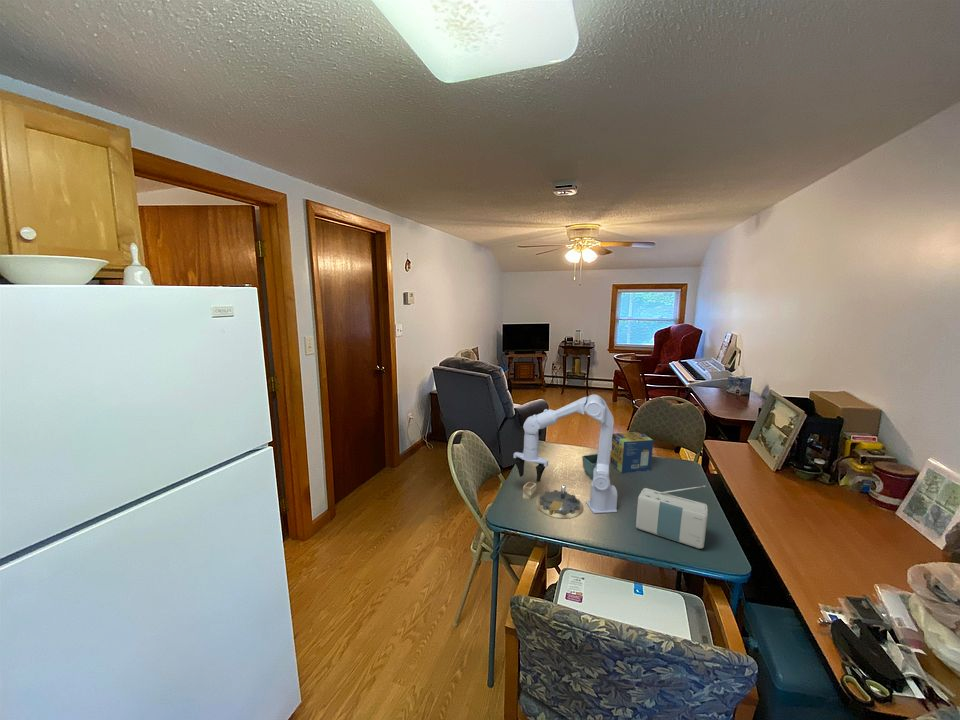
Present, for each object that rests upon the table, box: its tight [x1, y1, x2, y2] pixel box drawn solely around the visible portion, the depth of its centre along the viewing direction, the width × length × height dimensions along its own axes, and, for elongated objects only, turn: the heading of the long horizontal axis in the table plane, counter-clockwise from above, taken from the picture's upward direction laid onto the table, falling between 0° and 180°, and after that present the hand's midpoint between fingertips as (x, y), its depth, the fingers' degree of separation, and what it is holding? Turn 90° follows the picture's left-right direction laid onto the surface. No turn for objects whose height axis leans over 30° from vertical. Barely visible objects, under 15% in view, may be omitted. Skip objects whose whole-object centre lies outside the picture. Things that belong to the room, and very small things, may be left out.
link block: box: [522, 481, 537, 501], centre depth 159 cm, size 4×5×5 cm
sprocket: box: [539, 484, 581, 515], centre depth 152 cm, size 15×15×6 cm
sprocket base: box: [535, 493, 584, 520], centre depth 152 cm, size 18×18×3 cm
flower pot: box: [581, 453, 598, 481], centre depth 175 cm, size 9×9×9 cm
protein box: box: [609, 431, 654, 474], centre depth 184 cm, size 10×15×16 cm
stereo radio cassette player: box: [635, 485, 709, 549], centre depth 133 cm, size 21×8×20 cm, turn 56°
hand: (529, 478), depth 158 cm, fingers open, 7 cm apart
